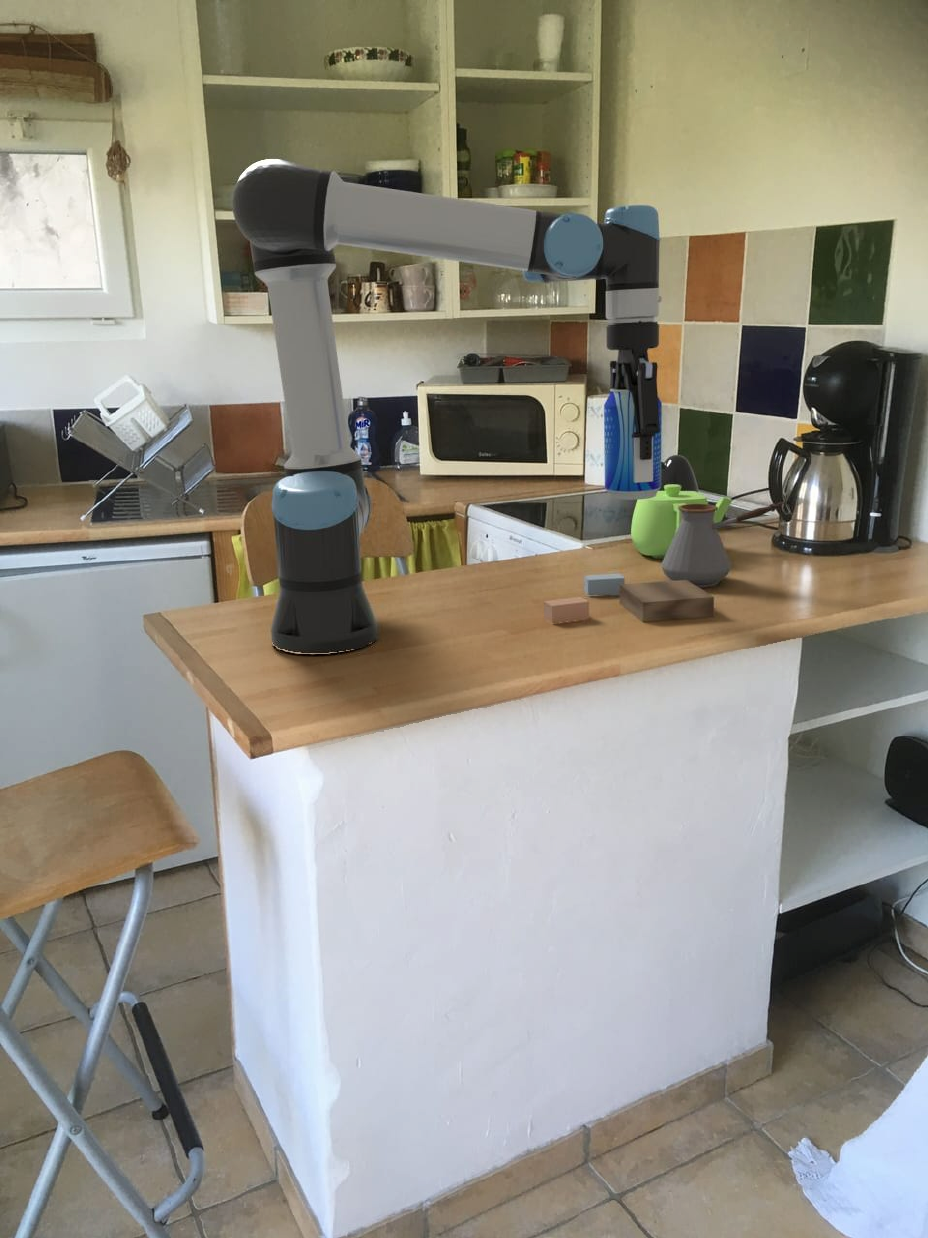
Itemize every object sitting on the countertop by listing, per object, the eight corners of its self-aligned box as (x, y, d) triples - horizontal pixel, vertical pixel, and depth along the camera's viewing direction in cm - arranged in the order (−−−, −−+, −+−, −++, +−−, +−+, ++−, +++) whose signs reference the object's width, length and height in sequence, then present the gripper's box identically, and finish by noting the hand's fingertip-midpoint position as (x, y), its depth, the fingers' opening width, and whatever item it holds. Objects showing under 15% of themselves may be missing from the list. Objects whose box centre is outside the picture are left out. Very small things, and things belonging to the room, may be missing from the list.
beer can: (657, 500, 149) (657, 389, 145) (600, 500, 152) (599, 390, 147) (664, 491, 157) (665, 385, 152) (610, 491, 159) (609, 386, 155)
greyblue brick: (588, 597, 165) (588, 580, 164) (584, 593, 168) (584, 575, 167) (624, 595, 166) (624, 577, 165) (620, 591, 169) (620, 573, 168)
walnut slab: (642, 621, 150) (643, 602, 150) (619, 603, 161) (619, 584, 160) (713, 616, 152) (714, 596, 151) (685, 597, 162) (686, 579, 162)
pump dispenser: (643, 522, 223) (645, 453, 219) (690, 520, 224) (692, 450, 220) (657, 531, 214) (659, 458, 209) (705, 529, 215) (708, 456, 210)
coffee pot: (648, 584, 172) (649, 496, 167) (681, 571, 180) (684, 486, 176) (768, 603, 158) (773, 507, 154) (798, 587, 166) (804, 496, 162)
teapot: (715, 540, 204) (717, 475, 200) (745, 562, 185) (748, 491, 181) (623, 543, 203) (624, 478, 200) (644, 566, 184) (645, 495, 181)
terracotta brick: (552, 625, 151) (552, 606, 150) (544, 620, 154) (543, 601, 153) (588, 620, 153) (588, 601, 152) (580, 615, 155) (580, 596, 155)
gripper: (685, 318, 138) (683, 485, 144) (632, 320, 158) (632, 467, 164) (632, 321, 137) (632, 489, 143) (586, 322, 157) (588, 470, 163)
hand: (632, 477), depth 153 cm, fingers closed on beer can, 8 cm apart
